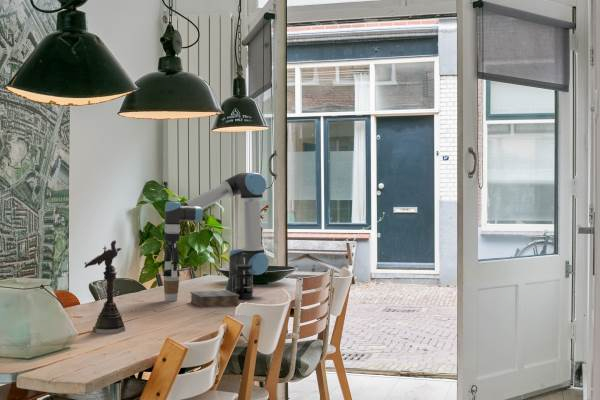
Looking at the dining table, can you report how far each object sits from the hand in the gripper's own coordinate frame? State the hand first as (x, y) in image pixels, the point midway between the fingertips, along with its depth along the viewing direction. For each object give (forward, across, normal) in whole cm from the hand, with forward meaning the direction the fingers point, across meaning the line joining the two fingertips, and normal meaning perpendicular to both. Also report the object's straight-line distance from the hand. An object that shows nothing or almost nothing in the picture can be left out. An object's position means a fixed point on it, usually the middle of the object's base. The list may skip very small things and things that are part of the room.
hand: (170, 276), depth 357 cm
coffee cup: (+12, 0, 0) cm, 12 cm away
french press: (+12, +4, +36) cm, 39 cm away
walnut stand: (+12, +17, +18) cm, 27 cm away
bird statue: (+13, +71, -44) cm, 84 cm away
